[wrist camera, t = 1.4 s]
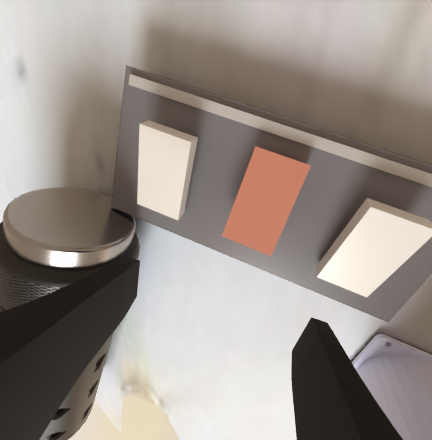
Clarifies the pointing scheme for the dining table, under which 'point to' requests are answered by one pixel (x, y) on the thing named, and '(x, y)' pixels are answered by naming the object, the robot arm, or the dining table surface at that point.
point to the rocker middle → (265, 200)
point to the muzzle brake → (62, 268)
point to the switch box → (306, 200)
